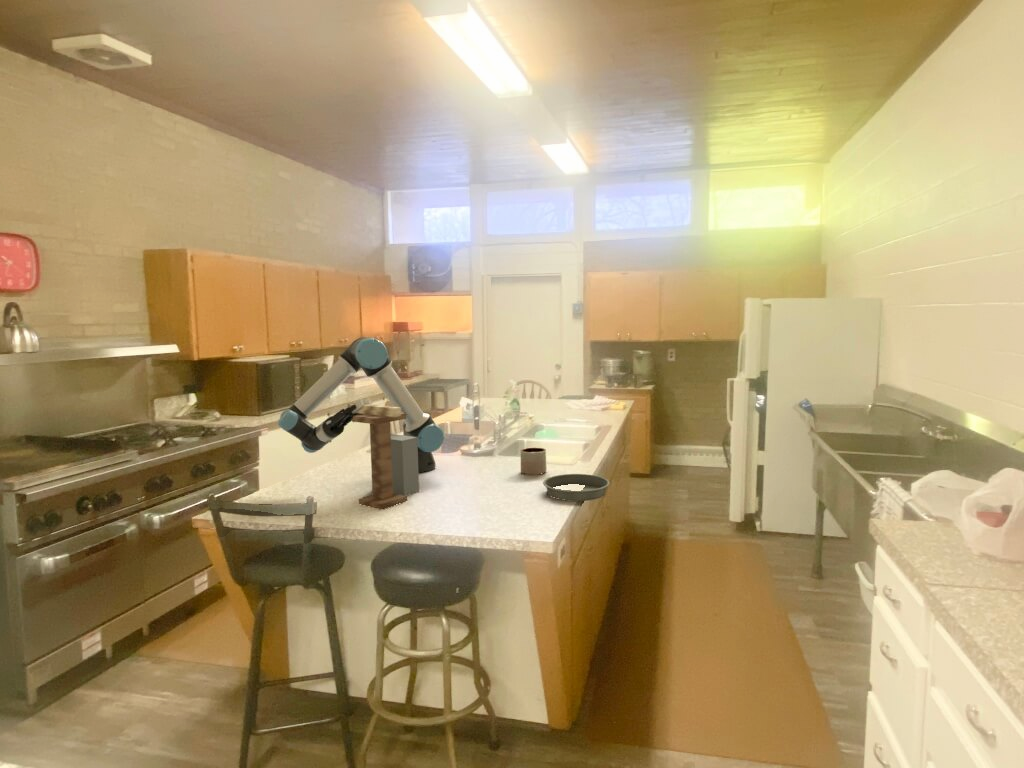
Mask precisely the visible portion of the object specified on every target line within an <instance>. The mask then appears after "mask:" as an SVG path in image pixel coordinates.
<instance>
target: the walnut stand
mask: <svg viewBox="0 0 1024 768" xmlns="http://www.w3.org/2000/svg"><path fill="white" fill-rule="evenodd" d="M402 419H406V413H401V416H398V417H389V416H380V415H370V414H361V415H356V416H353V422H352V423H361V424H362V423H363V424H369V435H370V436H369V439H370V441H371V445H370V463H371V465H372V469H371V488H373V490H372V494H369V495H368V496H364V497H361V498H358V505H359V504H361V505H360V506H363V505H365V506H364V507H368V506H370V507H369V508H372V507H374V508H373V509H377V508H378V509H377V510H381V509H383V510H386V509H388V507H389V508H392V507H395V506H397V505H396V504H398V505H400V504H399V503H401V504H403V502H404V503H406V501H407V502H408V495H407V496H404V495H400V494H395V493H393V483H392V458H391V434H392V433H391V423H392V422H396V421H403V420H402ZM394 505H395V506H394ZM391 506H392V507H391ZM385 508H386V509H385Z"/></svg>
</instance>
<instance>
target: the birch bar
mask: <svg viewBox="0 0 1024 768" xmlns="http://www.w3.org/2000/svg"><path fill="white" fill-rule="evenodd" d="M354 403H355V402H351V403H347V408H348V407H350V406H351V405H353V404H354ZM355 413H361V414H370V415H380V416H389V417H398V416H401V407H393V405H391V406H390V405H389V406H388V405H381V404H380V405H379V404H372V405H370V404H364V406H363V407H361V408H360V409H359V410H358V411H356V412H355Z"/></svg>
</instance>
